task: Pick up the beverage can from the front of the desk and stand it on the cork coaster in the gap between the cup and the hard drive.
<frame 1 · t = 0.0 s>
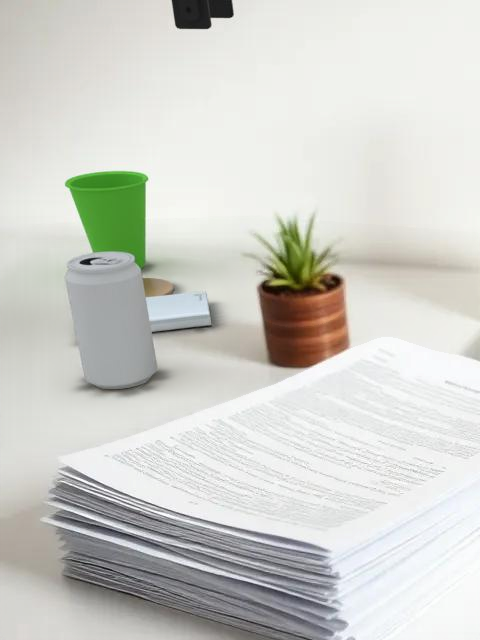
hand: (206, 22, 112), 31 cm above the table, tool pointing down, fingers open, 9 cm apart
cup: (123, 269, 139), on the table
beverage can: (123, 381, 108), on the table
hard drive: (149, 322, 122), on the table
coaster: (131, 293, 130), on the table
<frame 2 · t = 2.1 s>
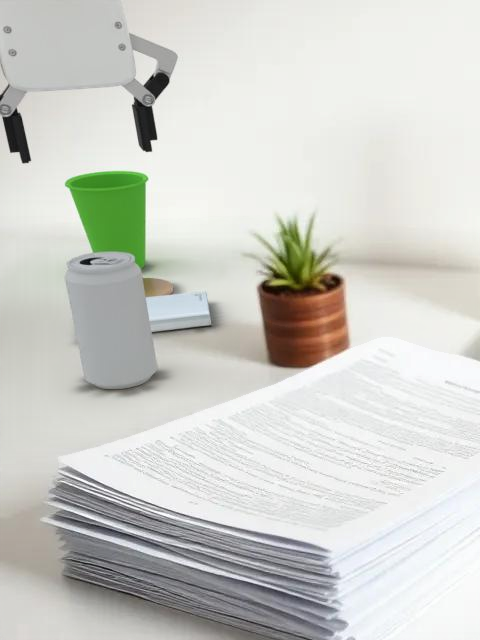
hand: (87, 154, 100), 22 cm above the table, tool pointing down, fingers open, 9 cm apart
nothing on the table moved.
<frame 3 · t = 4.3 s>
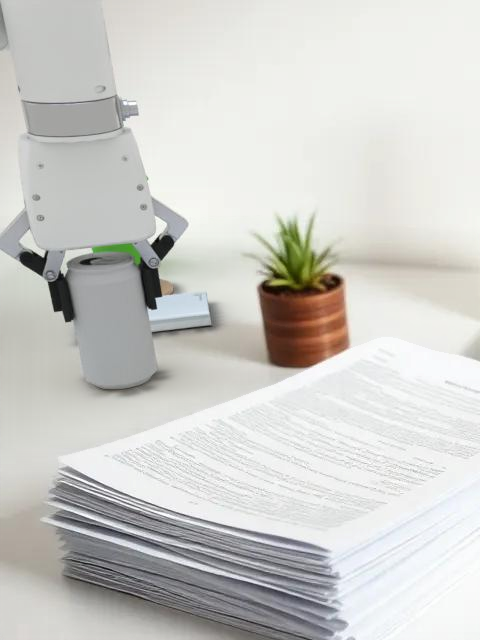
hand: (109, 309, 105), 7 cm above the table, tool pointing down, fingers closed on beverage can, 6 cm apart
beverage can: (123, 381, 108), on the table, touching gripper
everything else where it was.
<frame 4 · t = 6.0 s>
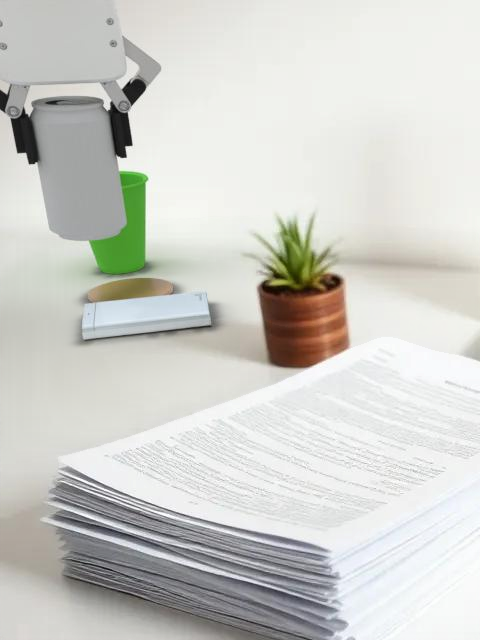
hand: (77, 156, 100), 21 cm above the table, tool pointing down, fingers closed on beverage can, 6 cm apart
beverage can: (90, 235, 103), point 14 cm above the table, touching gripper
everything else where it was.
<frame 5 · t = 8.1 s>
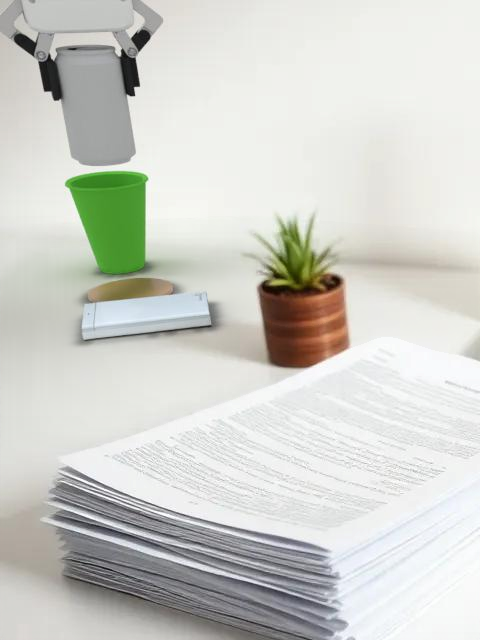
hand: (93, 95, 120), 23 cm above the table, tool pointing down, fingers closed on beverage can, 6 cm apart
beverage can: (105, 163, 123), point 16 cm above the table, touching gripper
everything else where it was.
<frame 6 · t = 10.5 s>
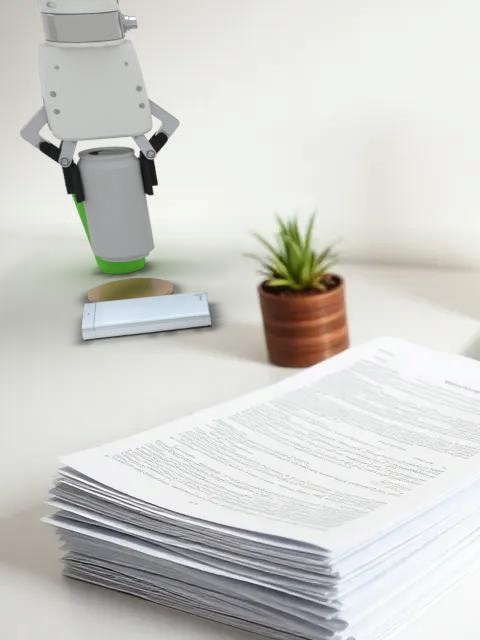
hand: (114, 195, 126), 12 cm above the table, tool pointing down, fingers closed on beverage can, 6 cm apart
beverage can: (125, 257, 129), point 4 cm above the table, touching gripper
everything else where it was.
when the fingers open (7 cm above the table, at t = 12.1 s): beverage can stays where it is, resting on coaster.
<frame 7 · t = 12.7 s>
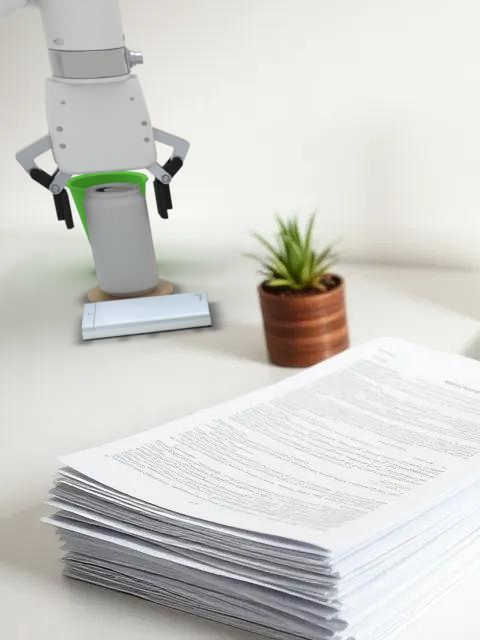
hand: (117, 221, 127), 9 cm above the table, tool pointing down, fingers open, 9 cm apart
beverage can: (130, 291, 130), resting on coaster
everything else where it was.
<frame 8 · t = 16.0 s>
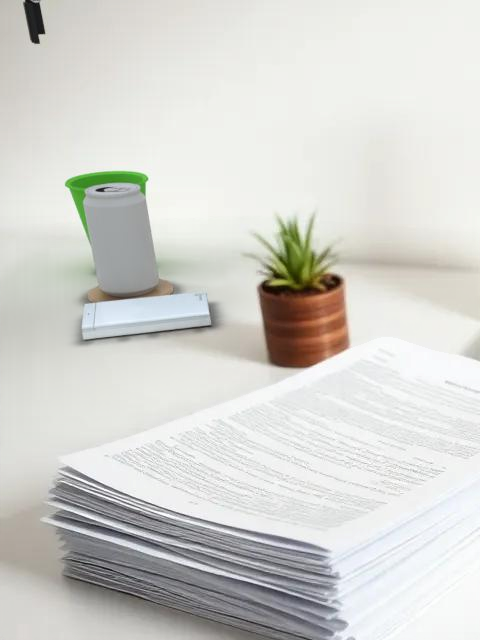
nothing on the table moved.
at the end: beverage can 0.4 cm from the target spot on the table beside the cup, resting on coaster; beverage can 10.5 cm from the hard drive (horizontally); beverage can tilted 0° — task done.
